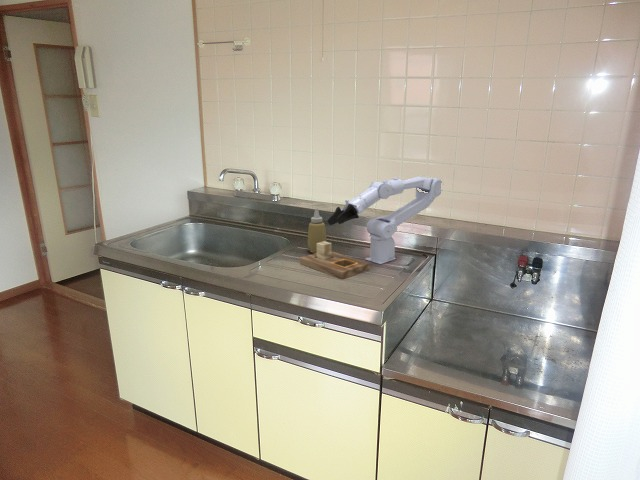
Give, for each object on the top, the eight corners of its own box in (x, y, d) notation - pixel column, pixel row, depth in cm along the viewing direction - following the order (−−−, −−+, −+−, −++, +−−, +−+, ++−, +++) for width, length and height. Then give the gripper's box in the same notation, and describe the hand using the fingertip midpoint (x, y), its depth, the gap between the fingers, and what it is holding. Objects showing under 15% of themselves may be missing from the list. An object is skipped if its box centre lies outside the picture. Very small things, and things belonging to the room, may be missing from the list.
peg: (324, 261, 183) (324, 241, 181) (331, 263, 180) (331, 243, 178) (316, 263, 181) (316, 243, 178) (323, 265, 178) (323, 245, 176)
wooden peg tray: (327, 255, 189) (327, 249, 188) (369, 269, 173) (369, 262, 172) (300, 263, 180) (299, 256, 180) (342, 279, 164) (342, 271, 163)
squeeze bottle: (304, 253, 193) (303, 210, 188) (312, 248, 200) (311, 206, 195) (322, 255, 190) (322, 211, 185) (330, 249, 197) (329, 207, 192)
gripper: (347, 195, 178) (319, 214, 174) (365, 190, 165) (336, 210, 160) (356, 211, 180) (329, 230, 175) (375, 208, 166) (346, 228, 162)
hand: (333, 222), depth 168 cm, fingers open, 7 cm apart
